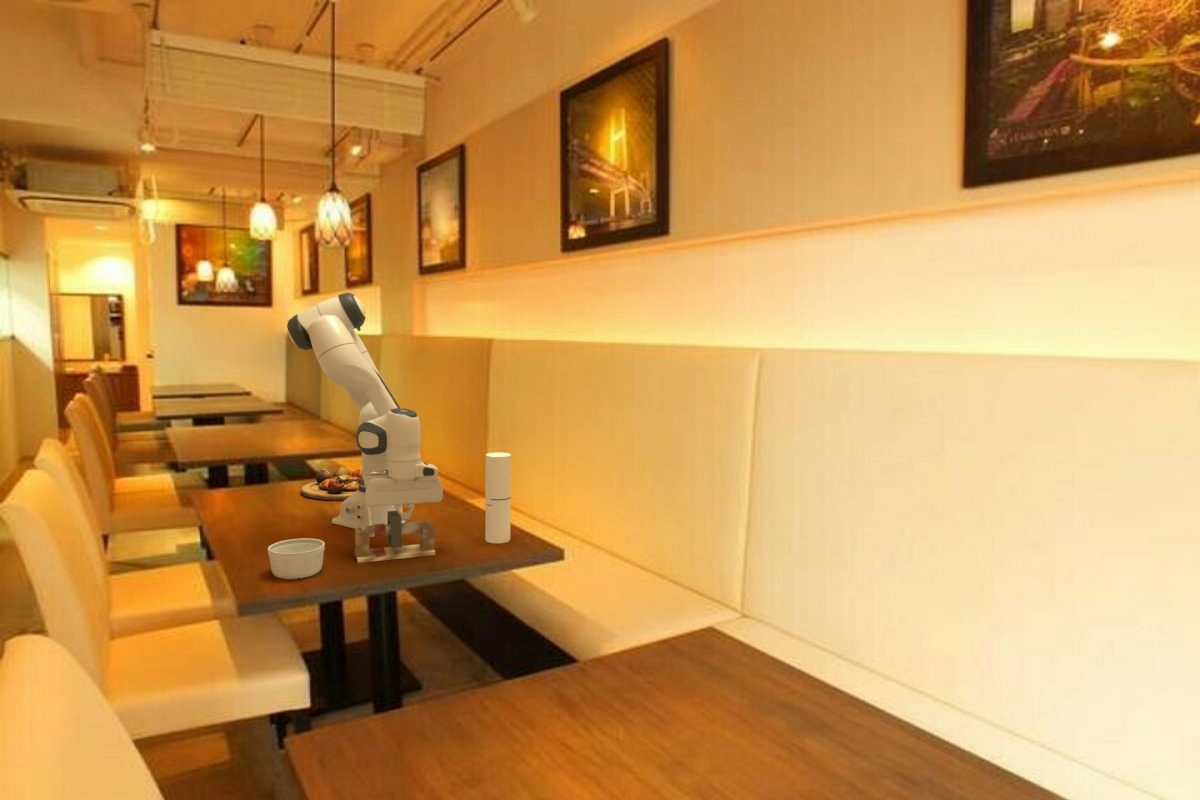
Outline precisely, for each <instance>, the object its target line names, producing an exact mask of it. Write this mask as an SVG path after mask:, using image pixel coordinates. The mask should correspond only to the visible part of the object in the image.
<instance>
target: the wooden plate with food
mask: <svg viewBox="0 0 1200 800" xmlns="http://www.w3.org/2000/svg"><path fill="white" fill-rule="evenodd" d="M360 479H362V470H361V471H360V469H359V468H358V469H357V468H356V469H355V470H353V471H352V472H350V471H349V470H348V469H346V468H345V467H343V466H341V467H339V468H337V469H336V470H335V471H334V472H333V474H331V472H329V470H327V469H326V468H322V469H320V470H319V471H318V472H317V473H316V475H315V481H314V482H310V483H306V484H305V485H303V486H302V487H301V488H300V492H301V494H302V495H303V496H305V497H308V498H311V499H315V500H316V499H317V500H325V501H344V500H346V499H347V498H348V497H350V496H351V495H352V494H353V493H355V492H356V491H357V490H358V486H359V484H357V485H355V484H356V483H358V482H355V481H358V480H360Z"/></svg>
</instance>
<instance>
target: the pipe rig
mask: <svg viewBox="0 0 1200 800" xmlns="http://www.w3.org/2000/svg"><path fill="white" fill-rule="evenodd" d="M401 532H402V535H406V534H417V533H419V544H418V543H417V544H409V545H402V547H400V548H392V547H391V546H387V547H385V546H384V547H383V546H382V547H381V546H380V547H373V548H370V538H372V537H374V538H380V537H387V536H388V535H391V524H376V525H372V526H361V527H359V528H355V529H354V536H355V537H354V539H355V540H354V541H355V542H354V543H355V544H354V546H355V547H354V548H355V550H354V556H355V559H356V561H357V563H358V564H359V563H360V564H361V563H368V562H369V563H371V562H378V561H388V560H399V559H407V558H409V559H410V558H419V557H427V556H436V550H435V525H434V523H432V521H427V520H422V521H410V522H405V523H401Z"/></svg>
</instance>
